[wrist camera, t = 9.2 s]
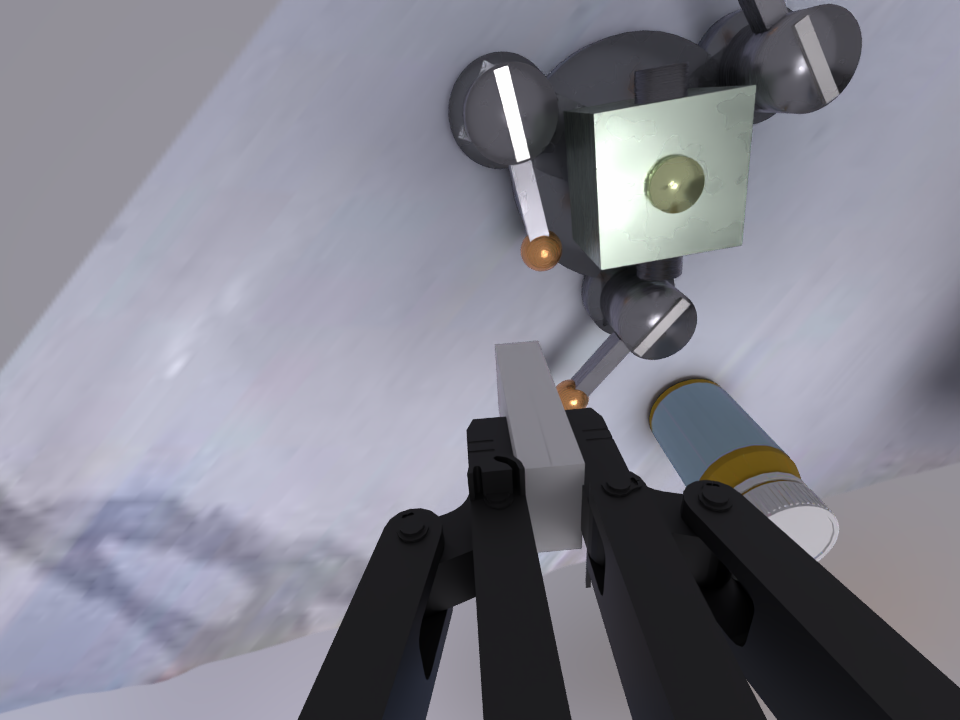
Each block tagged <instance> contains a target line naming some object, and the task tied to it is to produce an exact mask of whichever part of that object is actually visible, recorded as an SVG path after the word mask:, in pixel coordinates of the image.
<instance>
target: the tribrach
mask: <svg viewBox="0 0 960 720" xmlns="http://www.w3.org/2000/svg"><path fill="white" fill-rule="evenodd" d="M787 10H788V12H789V13H791V12H793V11H792V10H790V9H789V8H787ZM747 25H749V24H748V22H747V19H746V17H745V15H744V13H743V10H742V9H741V10H738V11H735V12H732V13H730V14H728V15H726V16H724V17H723V18H721V19H720V20H719V21H717V22H716V23H715V24H714V25H713V26H712V27H711V28H710V29H709V30H708V31H707V32H706V33H705V35H704V36H703V38H702V39H701V40H700V42H699V44H698V45H696V44H694V43H693V42H691V41H689V40H687V39H684V38H682V37H679V36H677V35H674V34H669V33H665V32H660V31H635V32H626V33H622V34H618V35H615V36H611V37H608V38H605V39H603V40H600V41H598V42H595V43H593V44H590V45H588V46H586V47H584V48H582V49H581V50H579V51H577V52H575V53H574V54H572V55H571V56H569V57H568V58H567V59H565V60H564V61H563V62H562V63H560V64H559V65H558V66H557V67H556V68H555V69H554V70H553V71H552V72H551V73H550V74H549V75H548V76H547V77H546V78H547V79H548V80H549V82H550V83H551V85H552V87H553V89H554V92H555V94H556V98H557V103H558V121H557V126H556V129H555V132H554V135H553V137H552V139H551V141H550V142H549V144H548V145H547V147H546V148H545V149H544V150H543V151H542V152H541V153H540V154H539V155H538V156H536V157H535V158H534V159H532V160H531V162H532V166H533V170H534V174H535V178H536V183H537V187H538V191H539V195H540V199H541V203H542V207H543V212H544V216H545V220H546V224H547V228H548V230H550V231H552V232H554V233H555V234H556V235H557V236H558V237H559V239H560V241H561V243H562V256H561V258H560V260H559V262H558V263H560V264H562V265H563V266H565V267H566V268H568V269H571V270H573V271H575V272H577V273H580V274H583V275H585V278H584V281H583V284H582V300H583V304H584V306H585V308H586V310H587V312H588V313H589V315H590V316H591V318H592V319H593V321H594V322H595V323H596V325H597V326H598V327H599V328H601V329H602V330H603V331H605V332H607V333H609V334H612V333H613V332H615V331H614V329H613V328H612V327H611V325H610V324H609V323H608V321H607V320H606V318H605V317H604V315H603V314H602V311H601V308H600V296H601V292H602V290H603V287H604V286H605V284H606V282H607V281H608V280H609V279H610V278H611V277H612V276H613V275H614V274H615V273H617V272H618V271H620V270H622V269H624V268H627V267H631V266H637V277H639V278H640V279H643V280H648V281H664V280H666V281H668V282H669V283H670V284H671V285H673V286H674V287H675V284H674V278H677V277H679V276H680V275H681V274H682V257H683V256H684V255H690V254H696V253H701V252H707V251H713V250H718V249H724V248H730V247H736V246H741V245H742V240H743V229H744V217H745V206H746V195H747V184H748V172H749V161H750V150H751V138H752V127H753V124H756V123H759V122H762V121H764V120H766V119H768V118H770V117H771V116H773V115H774V114H776V113H768V112H754V104H755V93H756V85H743V86H722V87H719V86H718V67H719V63H720V60H721V57H722V54H723V52H724V50H725V48H726V47H727V45H728V43H729V42H730V41H731V39H732V38H733V37H734V36H735V35H736V34H737V33H738V32H739V31H740V30H741V29H743V28H744V27H745V26H747ZM511 61H513V62H522V63H526V64H529V65H531V66H533V67H535V68H536V69H538V68H537V67H536V66H535V65H534V64H533V63H532V62H531V61H529V60H528V59H526V58H524V57H523V56H520V55H518V54H515V53H510V52H494V53H490V54H486V55H484V56H482V57H479V58H478V59H476V60H475V61H473V62H472V63H471V64H469V65H468V66H467V67H466V68H465V69H464V71H463V72H462V73H461V74H460V76H459V77H458V79H457V81H456V82H455V84H454V87H453V89H452V92H451V96H450V100H449V122H450V126H451V130H452V133H453V136H454V138H455V140H456V142H457V144H458V145H459V147H460V148H461V149H462V151H463V152H464V153H465V154H466V155H467V156H468V157H469V158H470V159H472V160H473V161H475V162H476V163H478V164H480V165H482V166H486V167H489V168H494V169H505V168H509V166H508V165H502V164H498V163H495V162H493V161H491V160H489V159H488V158H486V157H485V156H484V155H482V154H481V153H480V152H479V151H478V149H477V148H476V147H475V145H474V144H473V142H472V141H471V139H470V138H469V137H468V135H467V133H466V130H465V127H464V124H463V118H462V107H463V101H464V97H465V95H466V92H467V90H468V88H469V87H470V85H471V84H472V82H473V81H474V80H475V79H476V78H477V77H478V76H480V75H481V74H482V73H484V72H485V71H487V70H488V69H490V68H492V67H493V66H495V65H498V64H500V63H504V62H511ZM538 70H539V69H538ZM539 71H540V70H539ZM540 72H541V71H540ZM511 182H512V178H511ZM512 188H513V194H514V199H515V202H516V205H517V208H518V211H519V213H520V215H521V212H520V208H519V205H518V201H517V197H516V193H515V189H514V186H513V182H512ZM521 217H522V216H521ZM615 333H616V332H615Z"/></svg>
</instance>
